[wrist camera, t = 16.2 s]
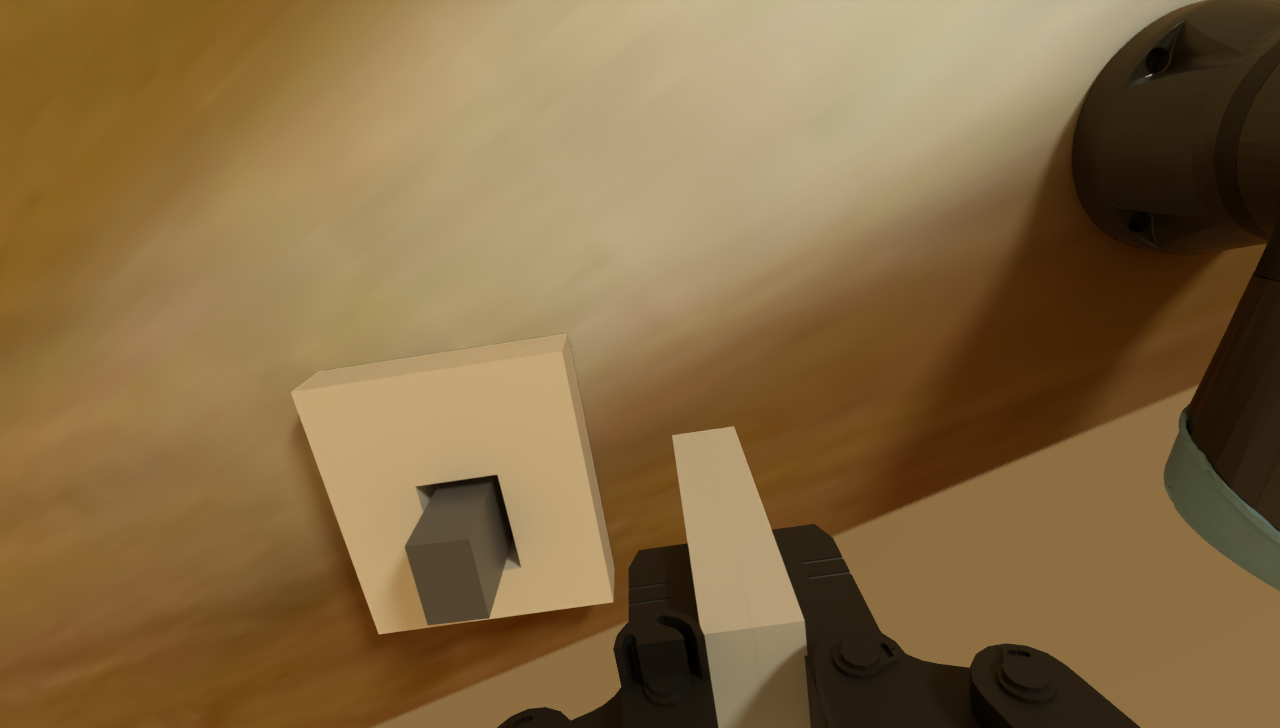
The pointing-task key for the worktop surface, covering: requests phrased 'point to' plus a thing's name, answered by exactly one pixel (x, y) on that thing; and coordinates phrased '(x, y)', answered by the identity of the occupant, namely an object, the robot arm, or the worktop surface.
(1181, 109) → the robot arm
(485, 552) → the plug
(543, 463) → the socket plate
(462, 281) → the worktop surface
